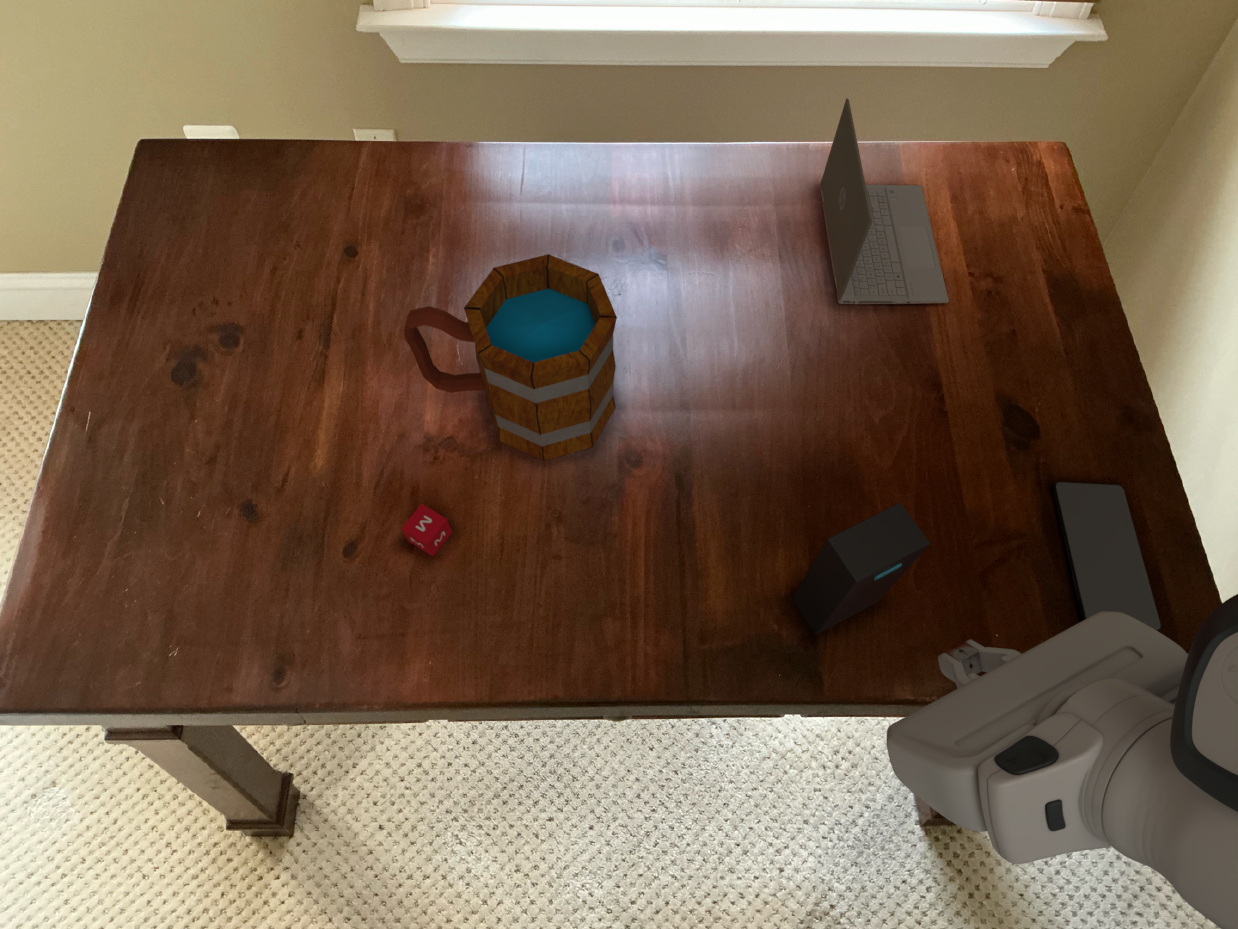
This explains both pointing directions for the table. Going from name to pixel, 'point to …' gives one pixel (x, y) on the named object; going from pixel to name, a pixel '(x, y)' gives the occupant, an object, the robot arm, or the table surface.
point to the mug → (533, 353)
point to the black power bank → (859, 567)
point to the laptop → (876, 232)
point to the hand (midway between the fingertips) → (954, 655)
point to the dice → (427, 529)
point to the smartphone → (1104, 551)
